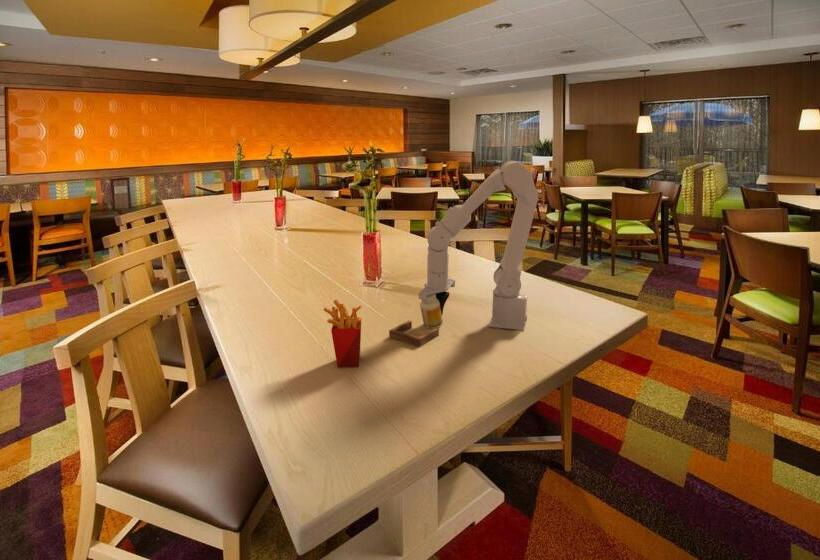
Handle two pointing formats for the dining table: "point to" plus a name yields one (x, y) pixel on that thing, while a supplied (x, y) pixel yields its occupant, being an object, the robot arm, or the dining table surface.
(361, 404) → the dining table surface
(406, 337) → the brown wooden u-shaped frame
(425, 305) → the supplement bottle
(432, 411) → the dining table surface
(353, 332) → the french fries
